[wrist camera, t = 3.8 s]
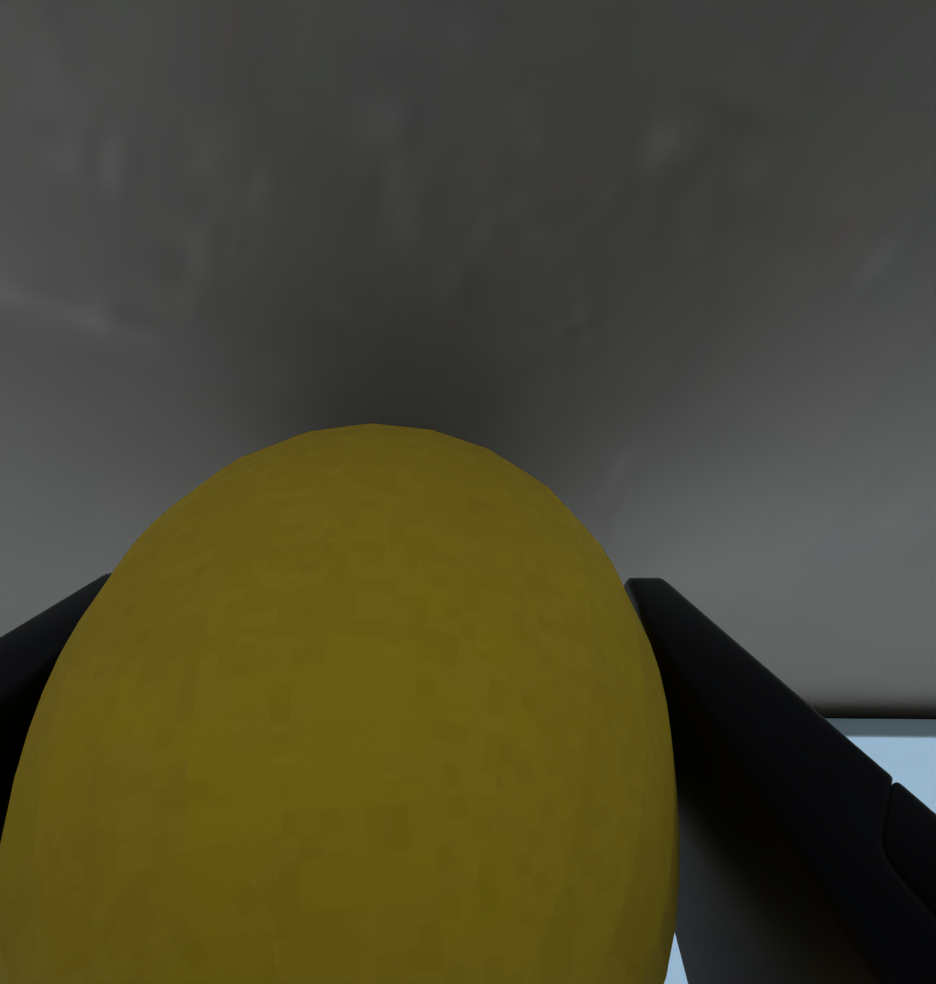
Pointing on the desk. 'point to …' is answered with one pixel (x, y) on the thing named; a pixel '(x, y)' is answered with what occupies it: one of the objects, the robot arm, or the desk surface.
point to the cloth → (893, 746)
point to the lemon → (350, 740)
